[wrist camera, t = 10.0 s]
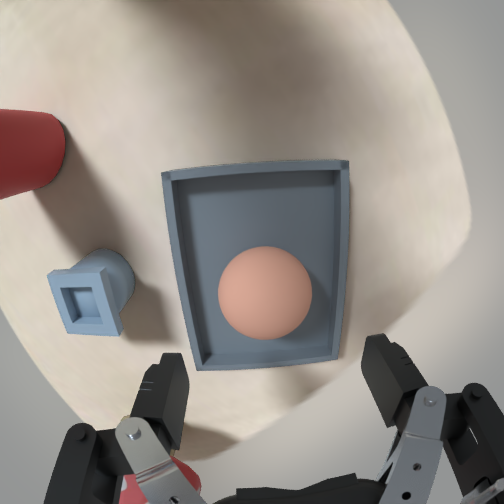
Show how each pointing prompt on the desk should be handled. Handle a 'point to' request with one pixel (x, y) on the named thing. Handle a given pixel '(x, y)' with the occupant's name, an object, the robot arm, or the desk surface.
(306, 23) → the desk surface
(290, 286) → the ball
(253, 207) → the tray
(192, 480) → the decorative mushroom
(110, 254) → the square to round adapter
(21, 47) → the desk surface
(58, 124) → the beer can
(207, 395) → the desk surface
